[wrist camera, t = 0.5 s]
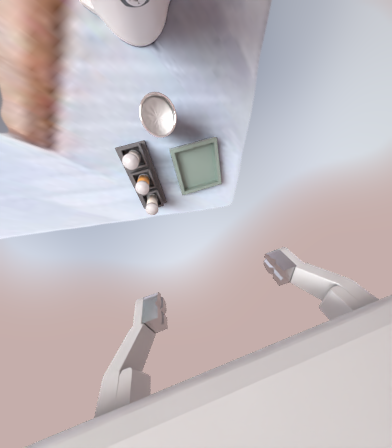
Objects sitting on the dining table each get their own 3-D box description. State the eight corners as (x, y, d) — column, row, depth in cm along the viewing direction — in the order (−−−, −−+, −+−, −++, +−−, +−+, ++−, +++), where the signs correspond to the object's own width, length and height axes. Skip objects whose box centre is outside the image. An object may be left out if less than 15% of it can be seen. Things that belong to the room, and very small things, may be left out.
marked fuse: (136, 174, 42) (132, 183, 35) (147, 171, 43) (146, 180, 35) (141, 185, 44) (138, 196, 37) (151, 182, 45) (151, 192, 37)
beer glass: (159, 97, 35) (162, 79, 23) (175, 126, 39) (184, 124, 27) (137, 114, 36) (128, 106, 24) (155, 141, 40) (155, 146, 28)
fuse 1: (125, 151, 39) (119, 156, 31) (138, 148, 39) (134, 152, 32) (131, 164, 41) (126, 171, 33) (143, 161, 41) (140, 167, 34)
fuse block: (115, 147, 38) (112, 149, 36) (144, 140, 39) (143, 141, 36) (144, 207, 50) (144, 212, 47) (166, 201, 50) (167, 205, 47)
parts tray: (169, 148, 42) (169, 150, 39) (213, 137, 43) (216, 137, 40) (181, 192, 50) (182, 195, 47) (218, 181, 51) (221, 183, 48)
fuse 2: (145, 194, 46) (143, 206, 39) (155, 191, 46) (155, 202, 39) (149, 203, 48) (148, 216, 41) (159, 200, 48) (159, 212, 41)
